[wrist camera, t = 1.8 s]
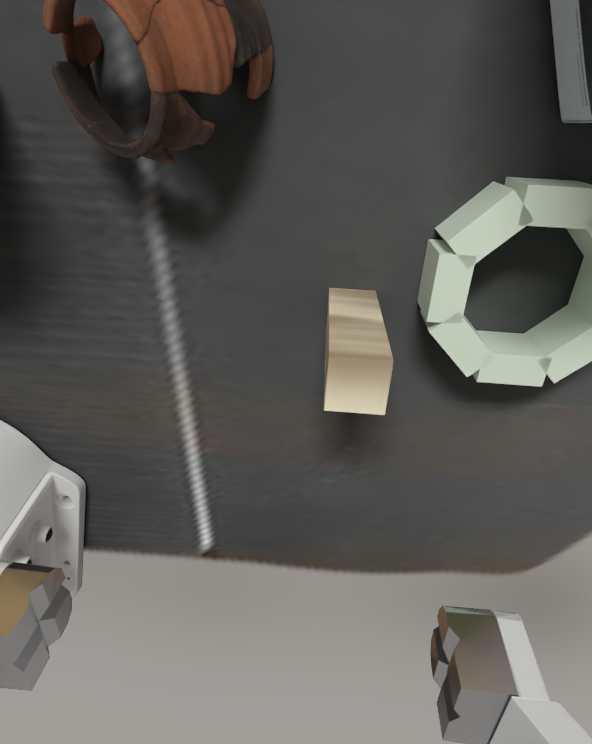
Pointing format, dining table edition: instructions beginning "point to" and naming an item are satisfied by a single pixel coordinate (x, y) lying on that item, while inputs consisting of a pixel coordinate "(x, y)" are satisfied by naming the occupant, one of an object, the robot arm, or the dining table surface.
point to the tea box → (573, 58)
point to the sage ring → (476, 240)
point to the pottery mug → (164, 65)
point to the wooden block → (356, 353)
